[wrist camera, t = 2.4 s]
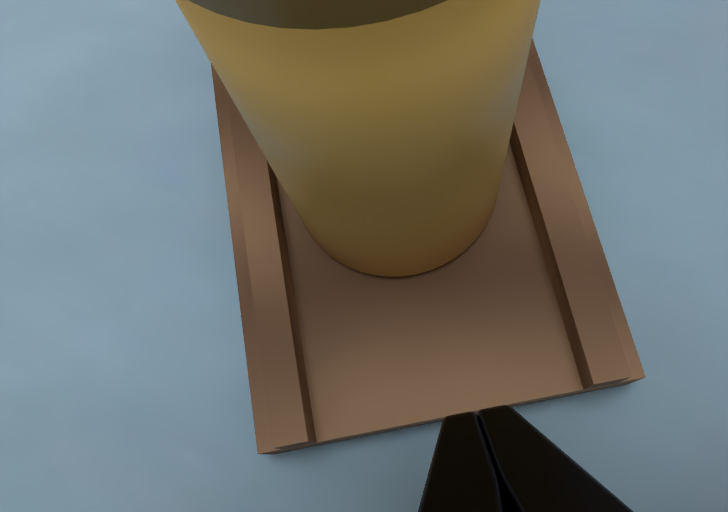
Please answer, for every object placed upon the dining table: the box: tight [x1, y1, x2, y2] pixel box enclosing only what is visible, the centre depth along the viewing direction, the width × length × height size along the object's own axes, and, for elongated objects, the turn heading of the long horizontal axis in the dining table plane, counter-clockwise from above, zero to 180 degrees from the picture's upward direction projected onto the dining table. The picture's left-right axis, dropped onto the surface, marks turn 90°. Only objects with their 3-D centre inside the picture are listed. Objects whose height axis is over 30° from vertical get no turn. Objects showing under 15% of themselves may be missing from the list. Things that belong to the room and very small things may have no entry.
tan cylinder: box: [176, 0, 540, 277], centre depth 10 cm, size 6×6×12 cm
